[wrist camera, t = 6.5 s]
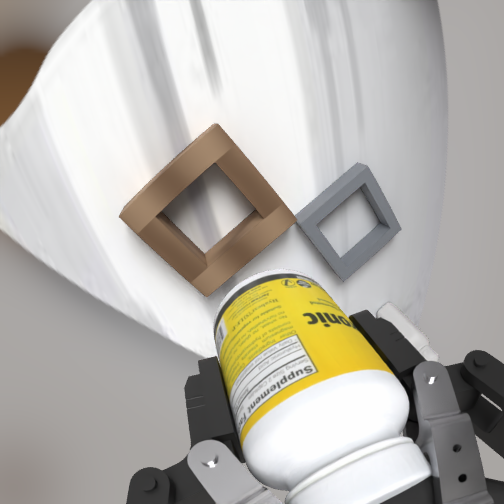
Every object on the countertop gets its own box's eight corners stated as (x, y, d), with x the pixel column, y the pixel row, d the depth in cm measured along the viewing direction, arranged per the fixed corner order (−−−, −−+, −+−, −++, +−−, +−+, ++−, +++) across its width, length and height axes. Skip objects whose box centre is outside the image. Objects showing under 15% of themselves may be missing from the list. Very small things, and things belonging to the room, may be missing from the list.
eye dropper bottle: (374, 335, 42) (420, 391, 31) (375, 305, 39) (428, 362, 28) (399, 324, 42) (446, 376, 32) (401, 294, 40) (456, 345, 29)
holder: (357, 162, 30) (367, 165, 29) (391, 223, 34) (401, 229, 33) (292, 217, 31) (299, 224, 29) (335, 273, 35) (343, 281, 33)
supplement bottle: (343, 311, 15) (463, 465, 6) (261, 375, 16) (329, 545, 7) (282, 238, 13) (445, 442, 4) (185, 321, 13) (224, 553, 5)
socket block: (214, 123, 26) (218, 123, 23) (287, 210, 31) (297, 220, 28) (124, 206, 27) (118, 216, 24) (203, 282, 32) (206, 297, 29)
